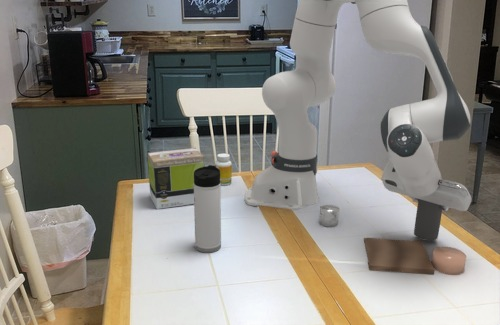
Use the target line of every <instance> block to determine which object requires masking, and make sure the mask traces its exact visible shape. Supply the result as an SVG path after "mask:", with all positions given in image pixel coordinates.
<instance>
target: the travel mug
mask: <svg viewBox="0 0 500 325" xmlns="http://www.w3.org/2000/svg"><path fill="white" fill-rule="evenodd" d="M220 184H221V183H220V170H219V169H218V168H216V166H215V165H211V164H209V165H207V166H205V167H201V168H198V169H196V170H195V171H194V204H193V205H194V206H193V207H194V208H193V211H194V241H195V243H194V244H195V245H194V246H195V247H194V248H195V249H196V250H197V251H199V252H201V253H205V254H207V253H214V252H218V251H219V250H220V249H221V247H222V222H221V221H222V213H221V212H222V211H221V210H222V208H221V207H222V205H221V204H222V202H221V196H222V192H221V186H222V185H220Z"/></svg>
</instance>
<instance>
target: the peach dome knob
mask: <svg viewBox="0 0 500 325" xmlns="http://www.w3.org/2000/svg"><path fill="white" fill-rule="evenodd" d="M466 262H467V254H466V253H465V252H464V251H462V250H460V249H458V248H456V247H451V246H439V247H438V246H437V247H435V248H434V249H433V252H432V258H431V263H432V266H433V268H434V271H437V272H439V273H440V274H441V273H442V274H444V275H451V276H455V275H456V276H457V275H461V274H463V273H464V272H465V268H466V267H465V266H466Z"/></svg>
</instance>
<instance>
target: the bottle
mask: <svg viewBox="0 0 500 325" xmlns="http://www.w3.org/2000/svg"><path fill="white" fill-rule="evenodd" d="M440 206H441V205H439V204H435V203H431V202H428V201H424V200H421V199H418V203H417V208H416V214H415V223H414V230H413V234H414V236H415V237H416V238H418V239H420V240H424V241H435V240H437V239H438V237H439V234H440V227H441V221H442V220H441V219H442V213H443V210H442V209H441V208H440Z"/></svg>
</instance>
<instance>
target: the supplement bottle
mask: <svg viewBox="0 0 500 325" xmlns="http://www.w3.org/2000/svg"><path fill="white" fill-rule="evenodd" d="M230 156H231V155H230V154H228V153H218V154H217V156H216V159H217V160H216V161H215V162H214V164H215V165H214V166H216V168H218V169H219V170H220V183H221V184H220V186H229V185H231V183H232V181H233V180H232V177H233V176H232V168H233V166H232V165H233V164H232V161H231V160H230V159H231V158H230Z"/></svg>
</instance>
